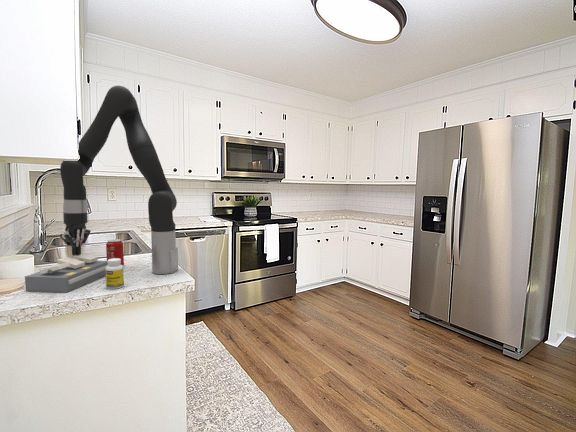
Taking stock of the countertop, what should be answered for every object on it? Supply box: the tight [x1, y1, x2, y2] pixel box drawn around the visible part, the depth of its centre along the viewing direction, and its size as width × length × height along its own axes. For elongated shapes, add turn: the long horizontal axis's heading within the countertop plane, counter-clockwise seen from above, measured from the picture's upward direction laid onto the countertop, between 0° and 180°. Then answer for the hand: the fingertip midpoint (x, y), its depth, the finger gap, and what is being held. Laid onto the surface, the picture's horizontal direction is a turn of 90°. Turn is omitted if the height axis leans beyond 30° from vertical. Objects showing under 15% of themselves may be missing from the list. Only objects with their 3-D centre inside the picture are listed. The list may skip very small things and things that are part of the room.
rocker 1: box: [38, 262, 70, 274], centre depth 100 cm, size 7×4×2 cm, turn 87°
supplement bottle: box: [105, 258, 125, 290], centre depth 103 cm, size 5×5×10 cm
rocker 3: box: [71, 252, 99, 263], centre depth 114 cm, size 7×4×2 cm, turn 87°
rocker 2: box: [56, 256, 85, 269], centre depth 107 cm, size 7×4×2 cm, turn 87°
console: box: [24, 260, 109, 294], centre depth 108 cm, size 15×22×5 cm, turn 177°
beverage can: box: [105, 238, 125, 266], centre depth 126 cm, size 6×6×12 cm
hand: (76, 255), depth 114 cm, fingers closed
